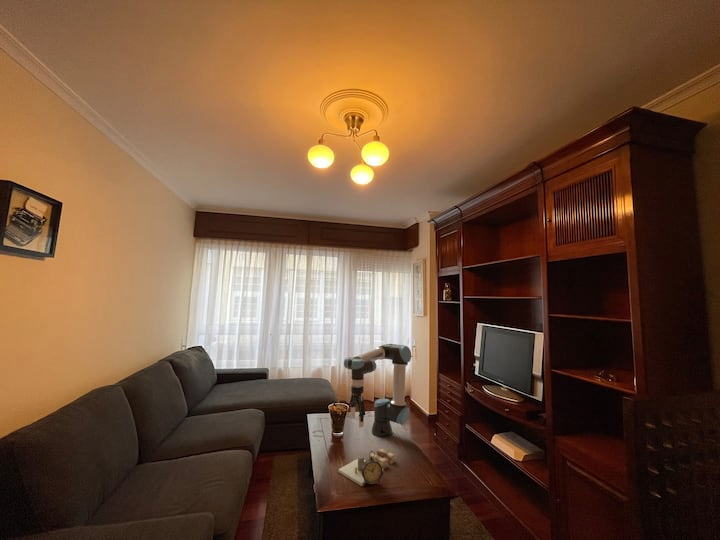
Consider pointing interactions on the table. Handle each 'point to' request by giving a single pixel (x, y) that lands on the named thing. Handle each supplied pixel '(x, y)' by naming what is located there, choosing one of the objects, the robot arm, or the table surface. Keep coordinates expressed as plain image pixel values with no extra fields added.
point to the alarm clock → (371, 471)
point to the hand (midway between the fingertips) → (356, 422)
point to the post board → (354, 471)
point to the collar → (384, 457)
